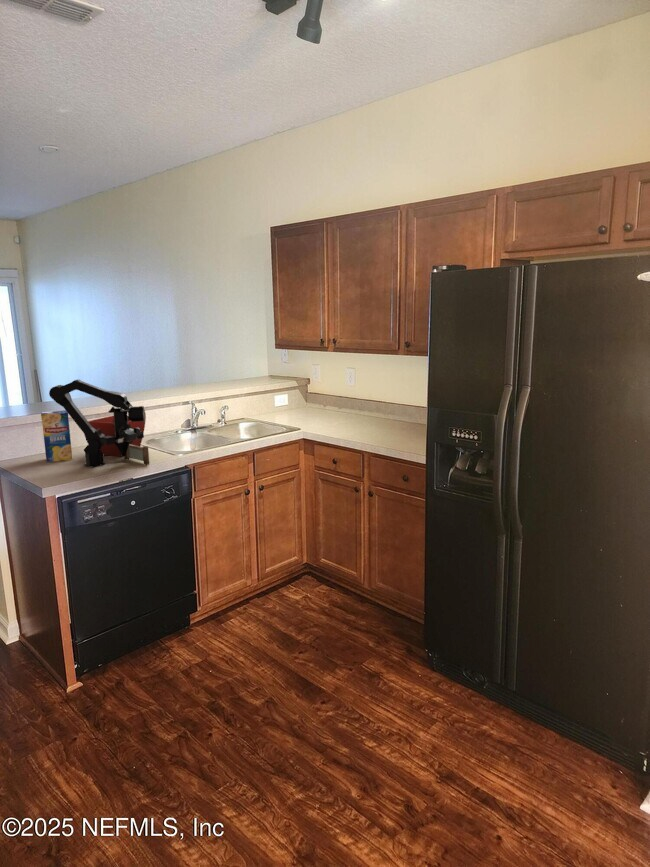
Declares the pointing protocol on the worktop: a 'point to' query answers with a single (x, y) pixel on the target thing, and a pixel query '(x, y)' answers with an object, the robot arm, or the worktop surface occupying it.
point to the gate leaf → (135, 452)
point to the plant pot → (109, 430)
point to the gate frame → (145, 455)
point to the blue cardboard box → (56, 435)
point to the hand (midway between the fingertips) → (123, 456)
